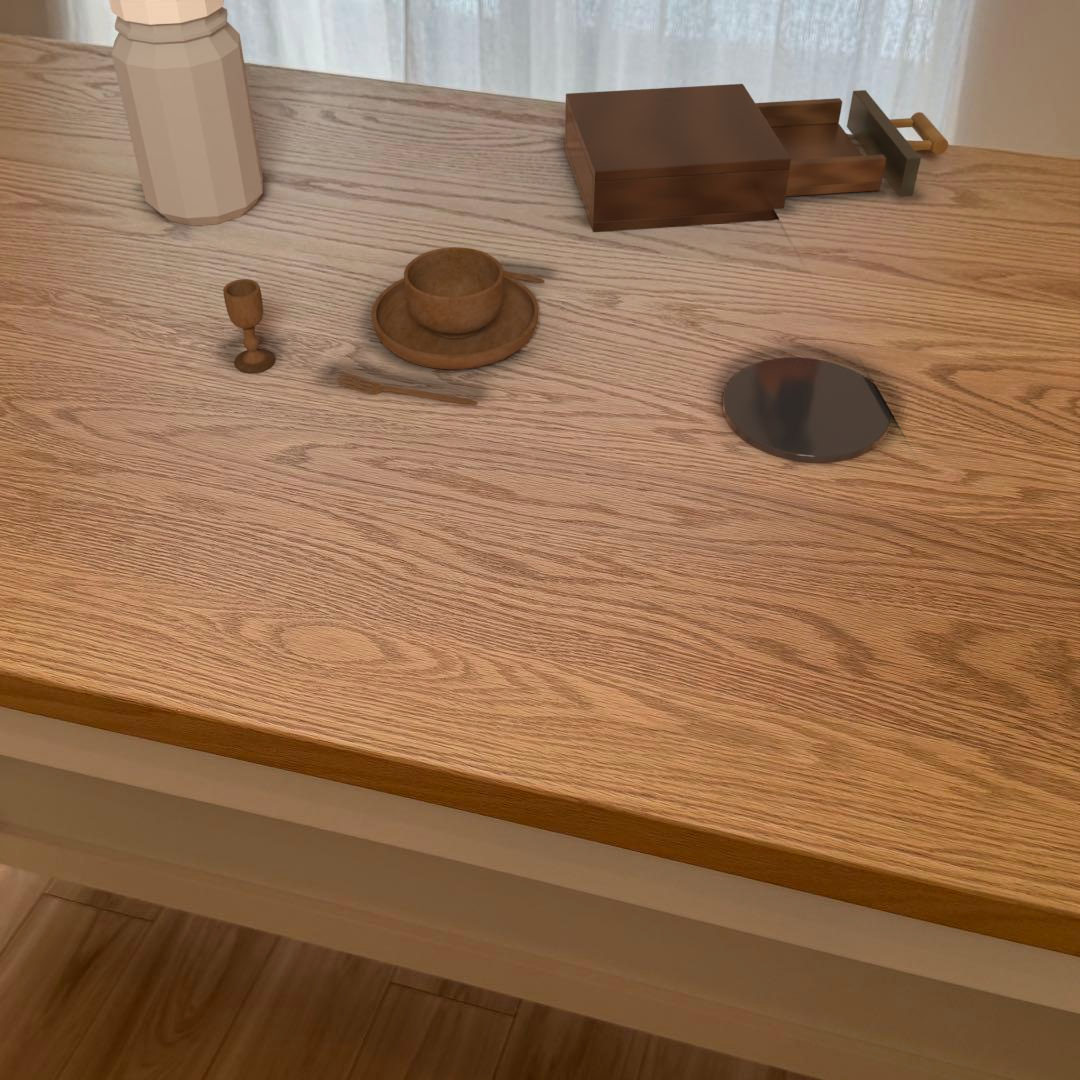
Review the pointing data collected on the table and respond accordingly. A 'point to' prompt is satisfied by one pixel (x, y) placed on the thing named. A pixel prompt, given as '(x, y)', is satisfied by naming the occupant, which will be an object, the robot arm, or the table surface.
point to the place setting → (424, 316)
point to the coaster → (806, 410)
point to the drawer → (848, 145)
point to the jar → (187, 108)
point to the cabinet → (674, 157)
